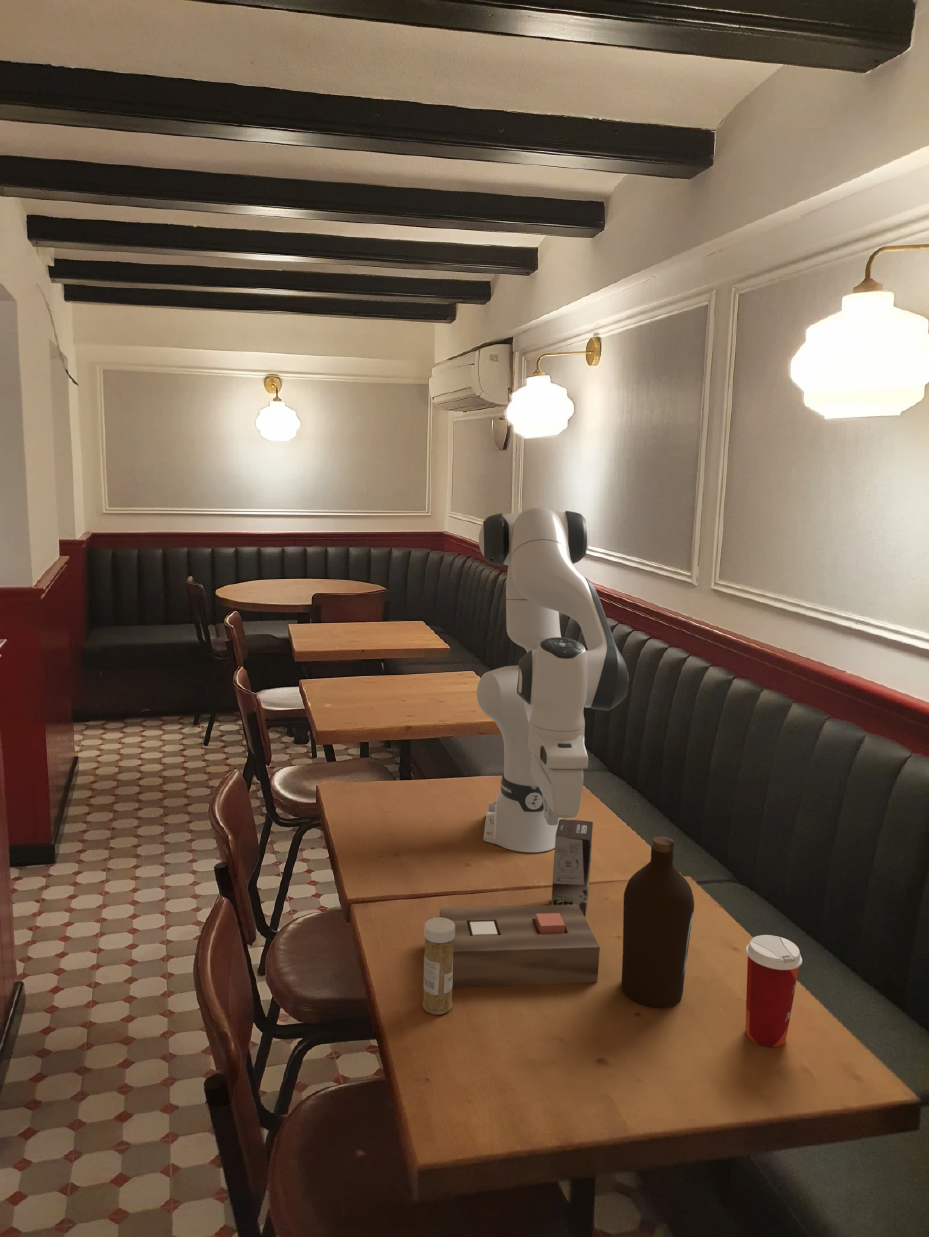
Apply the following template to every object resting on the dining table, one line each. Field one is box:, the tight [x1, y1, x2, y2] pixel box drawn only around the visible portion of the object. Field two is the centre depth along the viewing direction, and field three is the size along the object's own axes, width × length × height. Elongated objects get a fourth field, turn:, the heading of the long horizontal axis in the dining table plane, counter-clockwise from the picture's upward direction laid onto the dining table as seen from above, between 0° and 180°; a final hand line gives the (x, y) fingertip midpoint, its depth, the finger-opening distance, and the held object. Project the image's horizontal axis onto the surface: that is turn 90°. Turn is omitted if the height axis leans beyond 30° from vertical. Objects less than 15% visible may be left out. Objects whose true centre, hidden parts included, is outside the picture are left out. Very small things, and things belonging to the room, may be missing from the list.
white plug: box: [469, 921, 498, 936], centre depth 148 cm, size 4×4×6 cm
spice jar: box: [422, 917, 455, 1016], centre depth 135 cm, size 5×5×14 cm
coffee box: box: [550, 818, 594, 918], centre depth 166 cm, size 9×6×16 cm
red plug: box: [535, 913, 565, 934], centre depth 150 cm, size 4×4×6 cm
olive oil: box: [621, 836, 695, 1009], centre depth 140 cm, size 11×11×25 cm
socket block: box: [439, 904, 601, 988], centre depth 149 cm, size 14×24×6 cm, turn 97°
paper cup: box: [745, 934, 803, 1048], centre depth 131 cm, size 8×8×14 cm
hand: (550, 821), depth 148 cm, fingers closed
